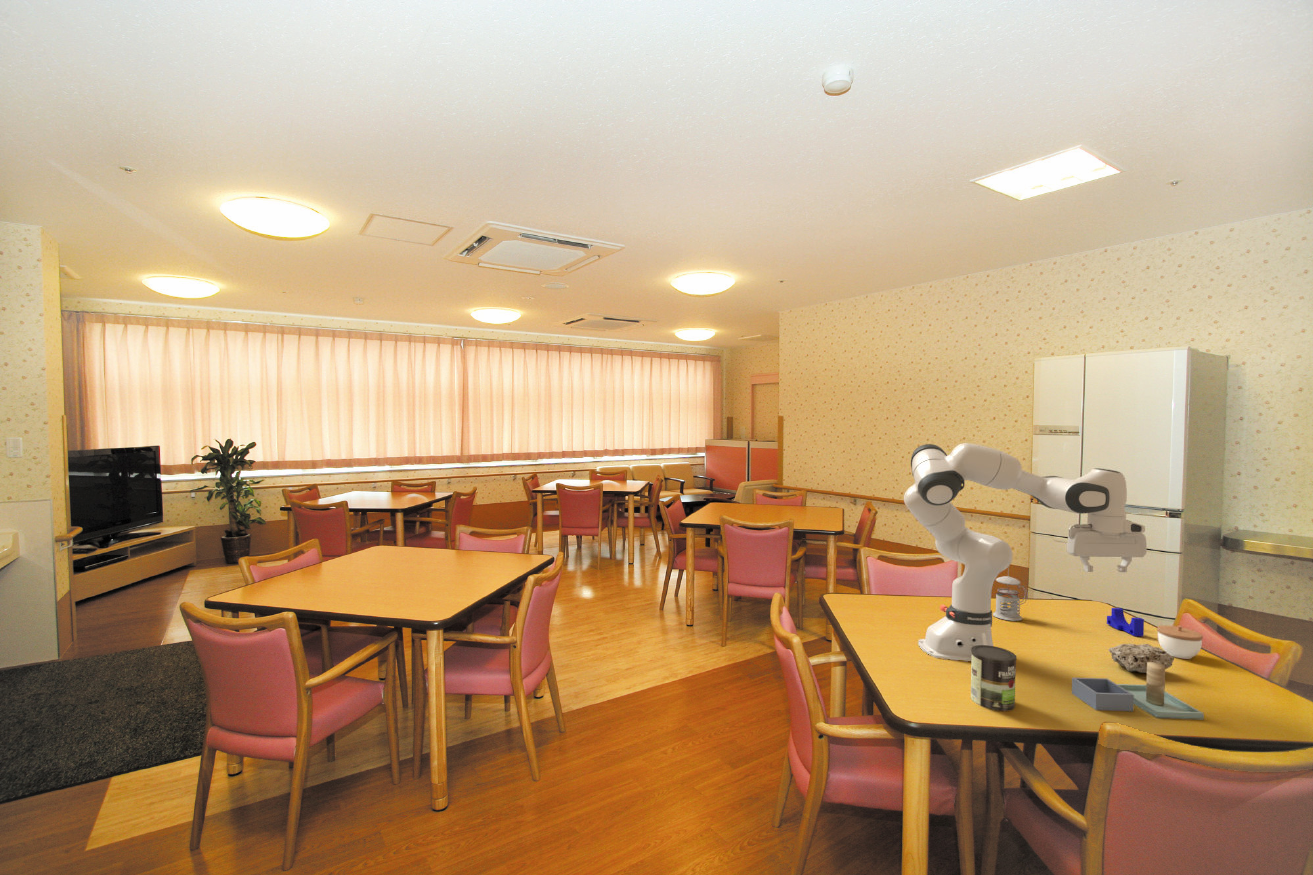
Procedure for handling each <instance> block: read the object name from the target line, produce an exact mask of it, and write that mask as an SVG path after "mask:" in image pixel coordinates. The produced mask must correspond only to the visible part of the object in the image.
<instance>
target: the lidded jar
mask: <svg viewBox="0 0 1313 875" xmlns="http://www.w3.org/2000/svg"><path fill="white" fill-rule="evenodd" d="M1156 629H1157V641H1158V643H1159V645H1160V647H1161V649H1162V650H1164V651H1166V652H1167V653H1168V654H1169V655H1170V656H1171V657H1173V658H1178V659H1182V660H1183V659H1184V660H1190V659H1191V660H1192V658H1193V657H1195V656H1197V655H1198V654H1199V653H1200V652H1201V649H1202V646H1203V645H1202V644H1203V638H1204V637H1203V634H1202V633H1200V632H1198V631H1195V630H1193V629H1189V628H1185V627H1183V626H1182V625H1177V626H1176V625H1168V624H1167V625H1159V626H1157V627H1156Z"/></svg>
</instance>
